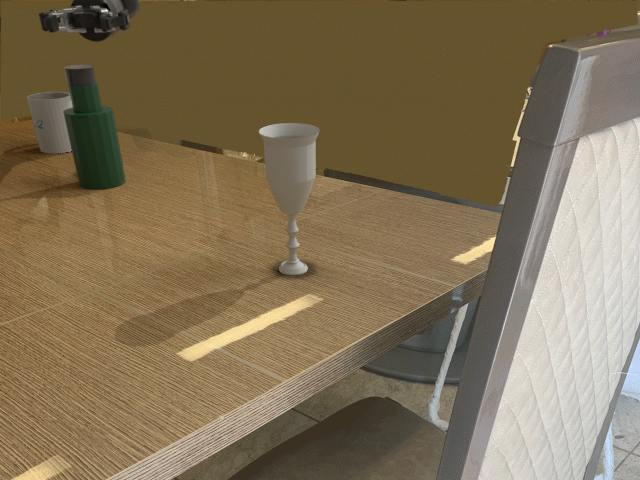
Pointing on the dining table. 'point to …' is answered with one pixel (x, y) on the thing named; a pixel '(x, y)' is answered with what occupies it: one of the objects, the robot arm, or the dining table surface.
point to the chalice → (290, 177)
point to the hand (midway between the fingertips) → (76, 24)
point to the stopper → (80, 75)
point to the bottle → (93, 139)
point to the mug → (50, 120)
